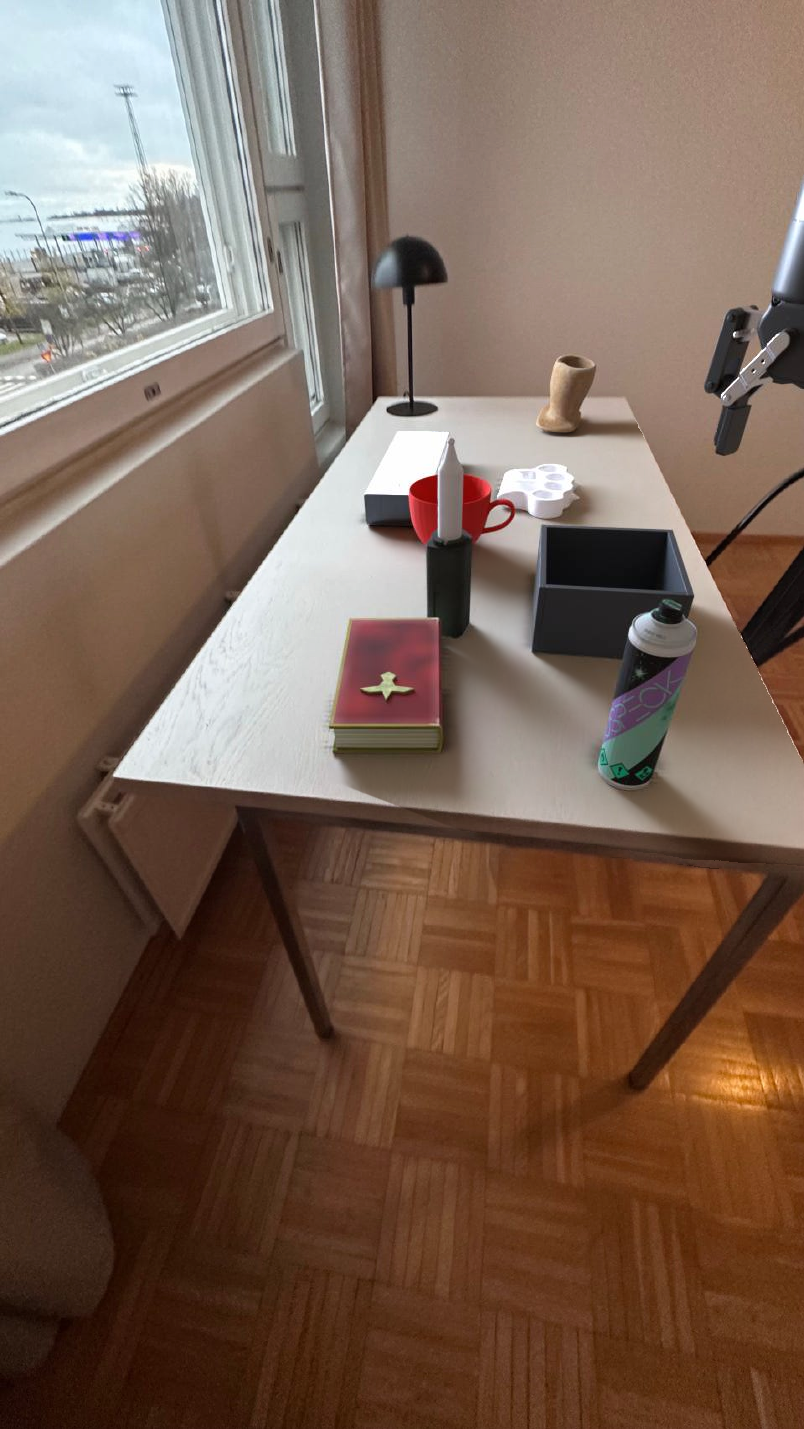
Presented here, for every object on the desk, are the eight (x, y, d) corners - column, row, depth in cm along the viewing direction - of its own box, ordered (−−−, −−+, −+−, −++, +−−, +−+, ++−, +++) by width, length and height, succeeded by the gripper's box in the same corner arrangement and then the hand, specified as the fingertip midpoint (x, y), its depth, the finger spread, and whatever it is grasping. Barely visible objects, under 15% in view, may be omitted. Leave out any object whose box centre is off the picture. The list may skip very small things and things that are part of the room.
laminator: (428, 530, 110) (428, 496, 106) (360, 528, 112) (357, 493, 108) (449, 462, 135) (450, 431, 131) (393, 460, 137) (392, 430, 133)
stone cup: (584, 438, 144) (594, 364, 134) (531, 435, 147) (538, 362, 137) (590, 418, 154) (601, 349, 144) (541, 416, 157) (549, 347, 148)
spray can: (594, 751, 68) (631, 585, 55) (646, 753, 67) (697, 586, 54) (601, 789, 64) (643, 620, 50) (657, 792, 63) (714, 621, 50)
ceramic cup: (504, 573, 98) (509, 511, 91) (400, 561, 102) (397, 501, 95) (518, 537, 107) (523, 478, 100) (422, 527, 111) (421, 470, 105)
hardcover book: (441, 642, 84) (441, 615, 81) (442, 753, 68) (443, 724, 66) (352, 643, 85) (349, 616, 82) (333, 752, 69) (328, 724, 66)
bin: (657, 591, 92) (673, 529, 86) (674, 663, 79) (694, 595, 73) (534, 585, 95) (541, 524, 88) (531, 652, 82) (539, 587, 75)
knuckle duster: (506, 478, 127) (580, 482, 124) (494, 515, 114) (577, 521, 111) (507, 461, 125) (583, 465, 122) (495, 497, 112) (580, 502, 109)
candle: (424, 633, 86) (421, 443, 70) (437, 613, 90) (437, 429, 73) (460, 639, 84) (465, 447, 68) (471, 620, 88) (479, 432, 72)
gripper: (1016, 208, 37) (888, 483, 48) (791, 206, 46) (725, 436, 57) (949, 217, 34) (828, 507, 45) (724, 213, 44) (668, 453, 54)
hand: (771, 467), depth 51 cm, fingers open, 8 cm apart
